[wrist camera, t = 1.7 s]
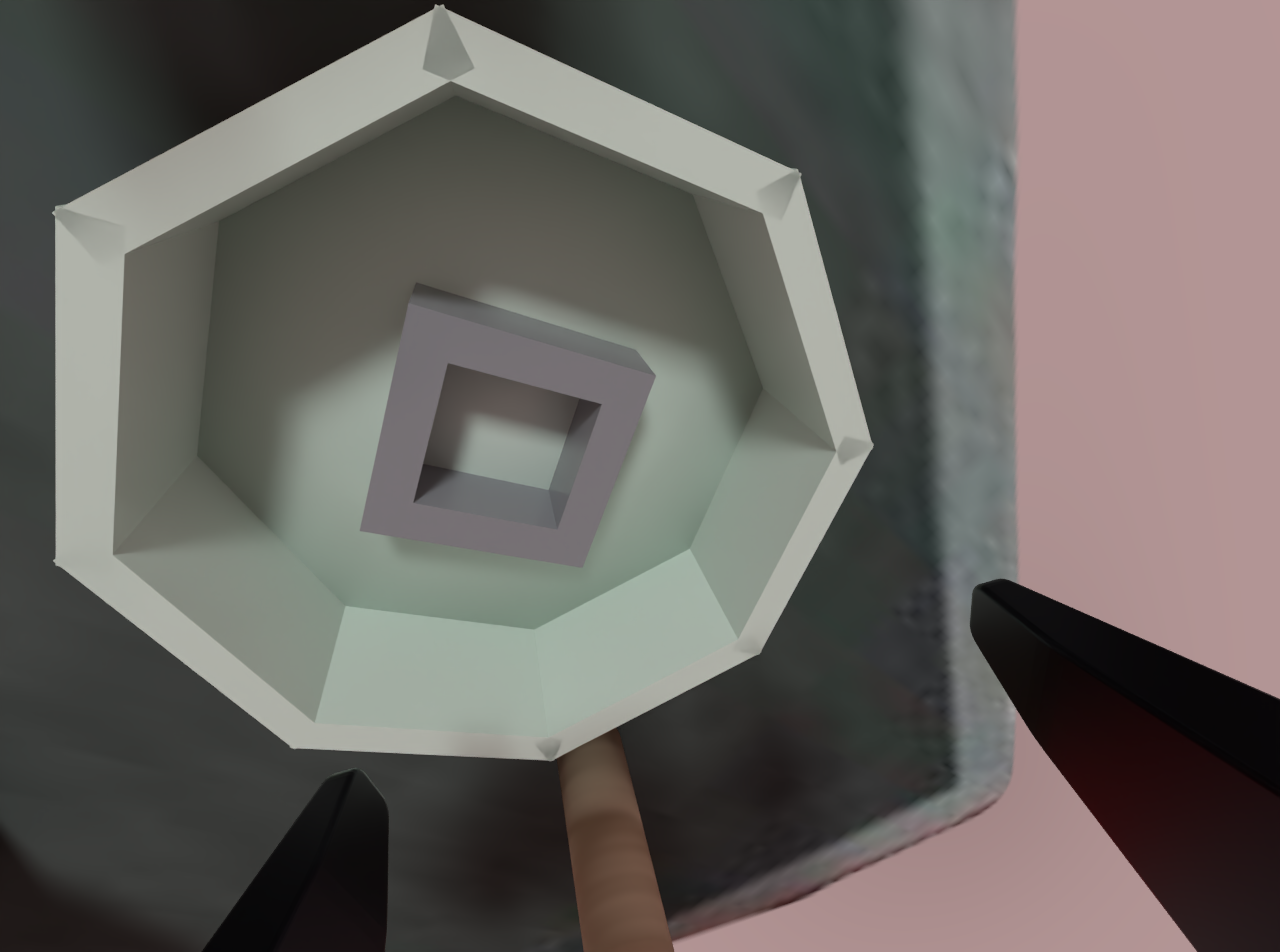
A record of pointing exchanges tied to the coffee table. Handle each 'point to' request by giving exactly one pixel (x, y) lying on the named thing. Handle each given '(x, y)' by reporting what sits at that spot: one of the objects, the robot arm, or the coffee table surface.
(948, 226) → the coffee table surface
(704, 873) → the coffee table surface
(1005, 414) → the coffee table surface
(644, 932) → the beige rounded cylinder
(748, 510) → the octagonal white bin
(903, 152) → the coffee table surface
